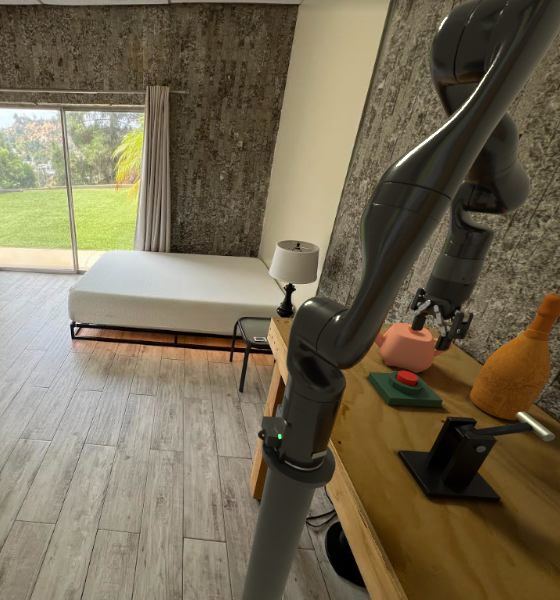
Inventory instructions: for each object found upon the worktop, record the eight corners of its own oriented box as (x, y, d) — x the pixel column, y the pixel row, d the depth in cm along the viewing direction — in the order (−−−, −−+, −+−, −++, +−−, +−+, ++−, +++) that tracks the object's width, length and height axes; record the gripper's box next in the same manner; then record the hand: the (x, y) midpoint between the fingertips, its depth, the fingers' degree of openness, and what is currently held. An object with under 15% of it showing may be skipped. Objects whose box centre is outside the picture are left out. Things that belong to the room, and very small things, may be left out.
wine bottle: (534, 418, 73) (612, 302, 61) (503, 426, 71) (576, 308, 58) (486, 390, 82) (545, 283, 69) (456, 397, 80) (512, 288, 67)
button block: (387, 404, 78) (392, 392, 76) (367, 378, 87) (371, 366, 85) (439, 407, 77) (446, 394, 75) (413, 380, 86) (418, 368, 84)
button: (402, 385, 79) (404, 380, 78) (392, 375, 82) (395, 370, 81) (419, 386, 78) (421, 381, 78) (409, 376, 82) (411, 370, 81)
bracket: (459, 457, 64) (486, 410, 59) (498, 502, 56) (534, 452, 51) (397, 454, 65) (418, 407, 60) (426, 497, 57) (454, 447, 52)
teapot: (360, 340, 104) (370, 307, 99) (437, 359, 94) (453, 324, 89) (357, 361, 94) (369, 326, 88) (444, 385, 84) (462, 346, 79)
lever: (525, 419, 56) (526, 409, 56) (554, 442, 52) (556, 431, 51) (447, 429, 59) (448, 420, 58) (468, 453, 54) (469, 443, 54)
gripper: (414, 263, 74) (393, 323, 81) (460, 287, 61) (430, 356, 68) (448, 264, 73) (424, 325, 80) (502, 288, 60) (468, 358, 67)
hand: (427, 339), depth 74 cm, fingers open, 8 cm apart
